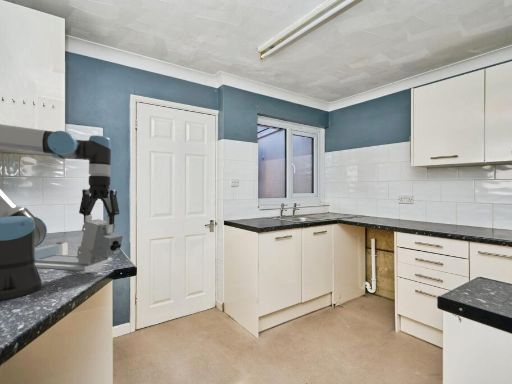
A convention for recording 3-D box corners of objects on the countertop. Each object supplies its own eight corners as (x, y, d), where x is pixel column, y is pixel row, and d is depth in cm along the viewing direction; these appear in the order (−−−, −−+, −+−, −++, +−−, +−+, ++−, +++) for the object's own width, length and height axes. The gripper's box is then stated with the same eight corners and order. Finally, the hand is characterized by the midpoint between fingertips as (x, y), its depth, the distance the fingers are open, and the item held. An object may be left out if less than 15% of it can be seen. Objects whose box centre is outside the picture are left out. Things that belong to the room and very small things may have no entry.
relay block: (62, 256, 135) (62, 242, 135) (53, 256, 134) (53, 242, 134) (67, 254, 140) (67, 240, 140) (59, 254, 139) (58, 241, 139)
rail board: (84, 270, 112) (84, 254, 112) (19, 266, 118) (19, 251, 118) (112, 260, 127) (112, 246, 127) (53, 257, 133) (53, 244, 133)
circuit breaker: (107, 268, 105) (115, 229, 104) (76, 258, 108) (83, 220, 107) (120, 263, 112) (128, 227, 112) (91, 254, 115) (98, 218, 114)
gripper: (130, 176, 112) (129, 232, 112) (83, 176, 116) (82, 229, 116) (117, 175, 104) (116, 234, 104) (68, 174, 108) (67, 232, 108)
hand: (98, 232), depth 110 cm, fingers closed on circuit breaker, 9 cm apart
